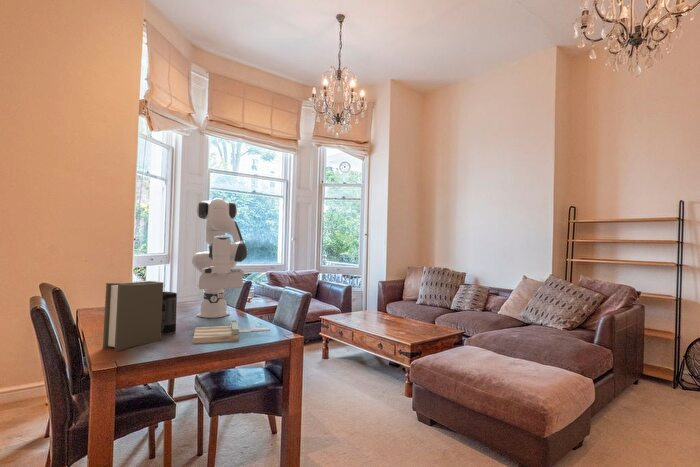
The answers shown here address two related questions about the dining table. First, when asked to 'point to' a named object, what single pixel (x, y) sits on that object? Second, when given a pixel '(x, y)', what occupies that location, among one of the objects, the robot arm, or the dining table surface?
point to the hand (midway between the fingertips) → (220, 298)
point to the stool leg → (234, 327)
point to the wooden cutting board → (219, 334)
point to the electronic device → (169, 313)
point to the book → (132, 314)
